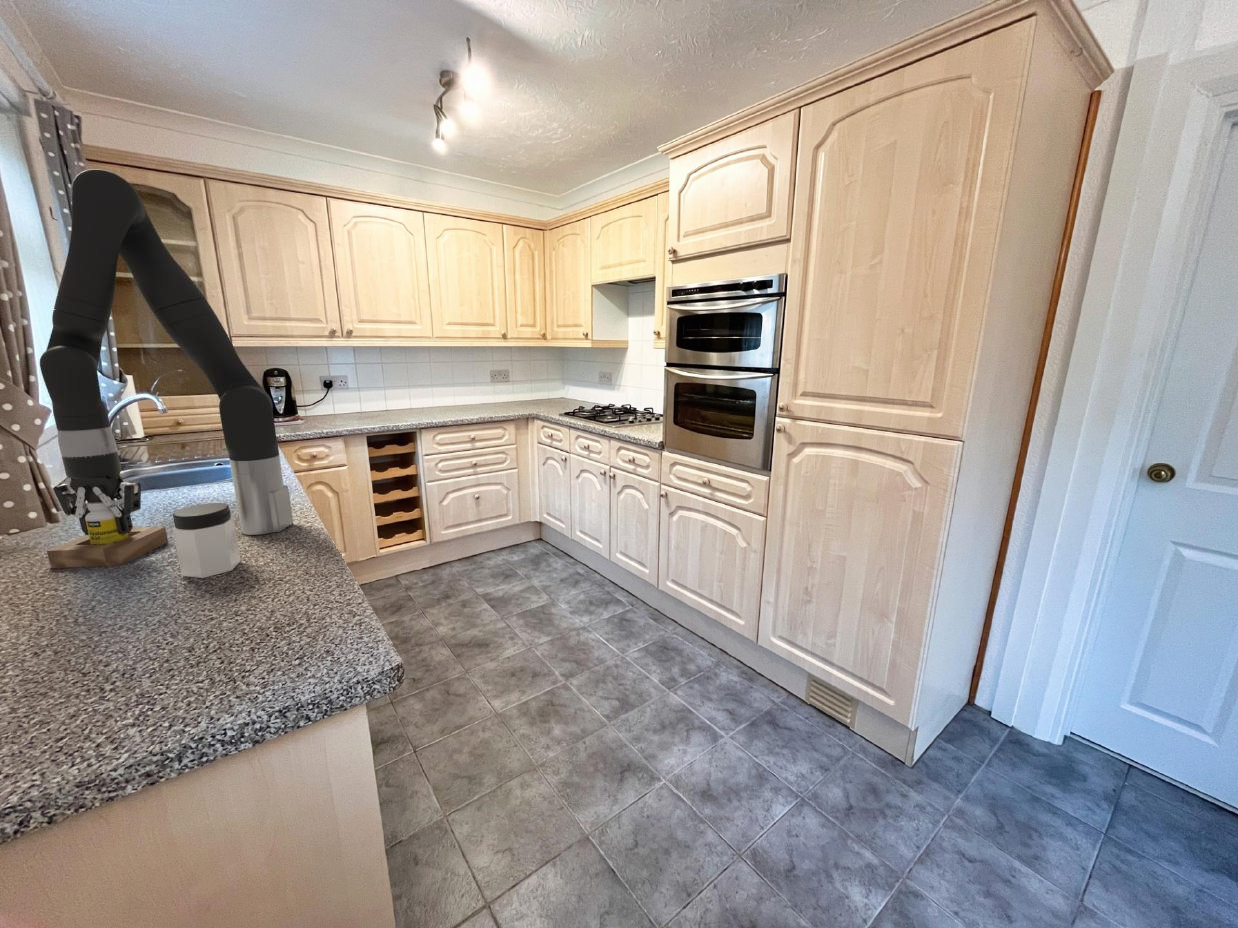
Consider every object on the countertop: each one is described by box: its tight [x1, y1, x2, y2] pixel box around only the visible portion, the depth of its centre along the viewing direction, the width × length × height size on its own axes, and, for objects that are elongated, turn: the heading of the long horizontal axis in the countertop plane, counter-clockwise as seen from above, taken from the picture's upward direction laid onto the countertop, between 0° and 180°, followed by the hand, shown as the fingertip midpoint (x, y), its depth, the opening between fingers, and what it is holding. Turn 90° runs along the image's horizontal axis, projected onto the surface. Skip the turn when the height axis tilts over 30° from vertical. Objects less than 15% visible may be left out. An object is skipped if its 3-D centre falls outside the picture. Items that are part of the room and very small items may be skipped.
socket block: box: [46, 526, 169, 569], centre depth 100 cm, size 12×12×4 cm
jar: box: [172, 502, 241, 579], centre depth 94 cm, size 9×8×12 cm
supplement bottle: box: [85, 498, 129, 545], centre depth 99 cm, size 5×5×10 cm
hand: (108, 533), depth 100 cm, fingers closed on supplement bottle, 5 cm apart
